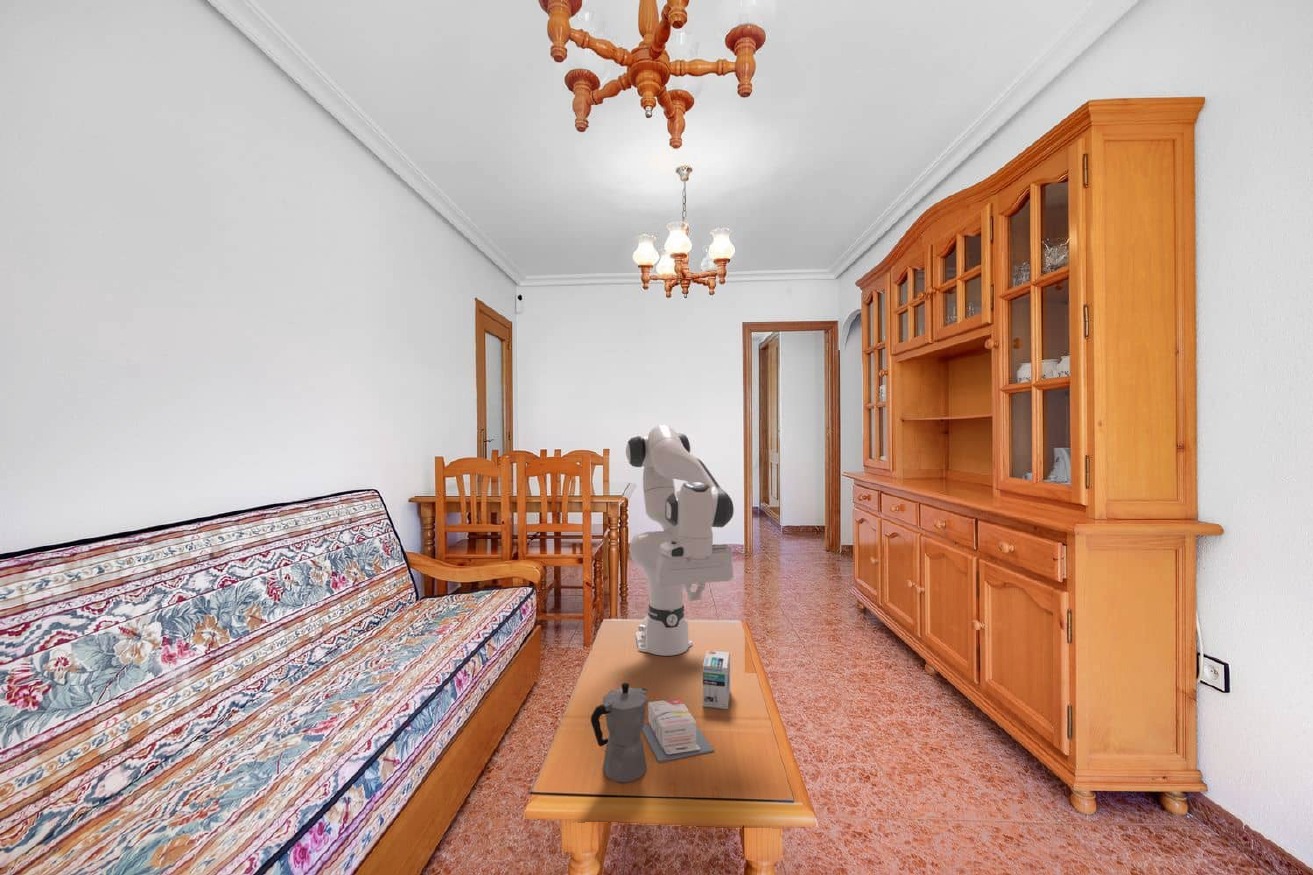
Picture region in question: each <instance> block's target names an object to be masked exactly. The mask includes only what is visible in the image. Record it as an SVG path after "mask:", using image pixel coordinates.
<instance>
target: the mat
mask: <svg viewBox="0 0 1313 875" xmlns="http://www.w3.org/2000/svg"><path fill="white" fill-rule="evenodd" d="M641 732H642V734H643V735H644V737H645V739H646V740H647V743H648V746H649V747H650V749H651V750H652V752H653V755H654V756H655V758H656V761H657V762H658V763H662V762H666V761H667V762H668V761H673V760H677V759H681V758H682V759H683V758H687V757H693V756H698V755H702V754H708V753H709V754H710V753H713V752H715V749H714V748H713V745H711V743H710V742H709V740H708V739H707V738H706V737H705V734H703V732H702V731H701V730H700V728H699V727H698V725H697V724H696V741H697V742H696V744H697V745H698V746H699V747H700V750H694V751H688V752H682V753H675V754H666V753H665V751H664V749H663V748H662V747H661V745H660V743H659V741H658V739H657V737H656V735H655V733H654V731H653V729H652V727H651V725H650V724H649V723H648V724H644V726H643V729H642V731H641ZM686 748H687V747H686ZM686 748H678V749H676V750H679V749H681V750H683V749H686Z"/></svg>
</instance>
